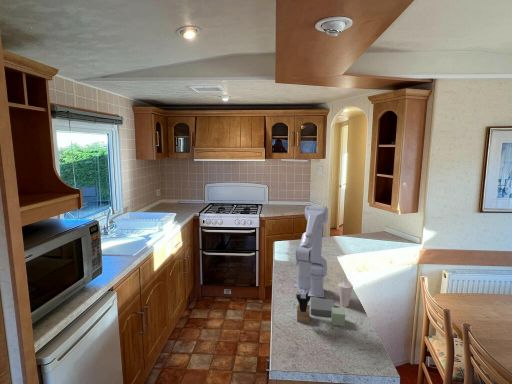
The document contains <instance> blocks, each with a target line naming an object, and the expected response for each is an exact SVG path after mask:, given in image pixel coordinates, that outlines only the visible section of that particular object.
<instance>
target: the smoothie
mask: <svg viewBox="0 0 512 384" xmlns="http://www.w3.org/2000/svg"><path fill="white" fill-rule="evenodd" d="M337 287H338V293H339V303H340V306H341V307H342V308H343V307H344V308H347V307H349V306H350V302H351V295H352V289H353V287H354V286H353V284H352V283H351V282H348V281H346V274H344V275H343V281H339V282H338V283H337Z"/></svg>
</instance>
